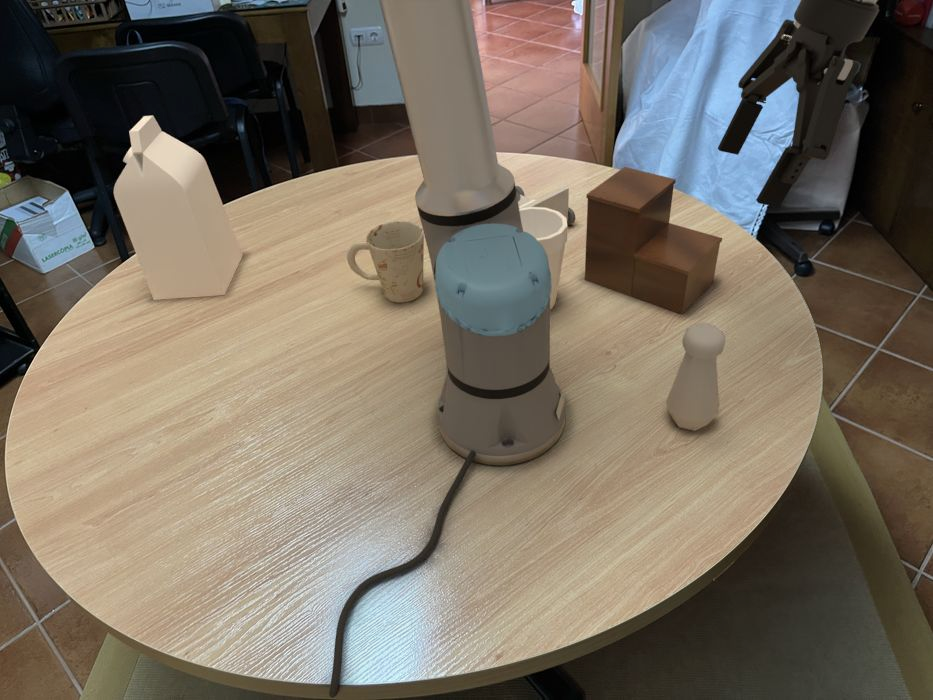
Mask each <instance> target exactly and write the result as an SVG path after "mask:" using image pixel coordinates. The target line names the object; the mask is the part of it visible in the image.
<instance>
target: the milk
mask: <svg viewBox="0 0 933 700" xmlns="http://www.w3.org/2000/svg"><path fill="white" fill-rule="evenodd" d="M128 132H129V134H128V135H129V139H130V145H131V146H130V147H129V149H128V151H126V154H125V155H124V157H123V159H122V162H123V163H125V164H126V165H125V167H124V168H123V169H122V171H121V173H120V174H119V176H118V178H117V180H116V182H115V183H114V187H113V197H114V200H115V203H116V205H117V208H118V210H119V213H120V216H121V218H122V221H123V223H124V226H125V229H126V231H127V233H128V237H129V239H130V242H131V244H132V247H133V249H134V252H135V255H136V257H137V260H138V263H139V266H140V268H141V271H142V273H143V275H144V279H145V281H146V283H147V286H148V290H149V292H150V294H151V296H152V299H153V301H157V300H159V301H160V300H172V299H173V300H174V299H189V298H201V297H217V296H225V295H226V293H227V291H228V289H229V287H230V285H231V282H232V280H233V278H234V276H235V274H236V272H237V269H238V267H239V265H240V263H241V261H242V259H243V257H244V254H243V252H242V250H241V246H240V244H239V242H238V239H237V237H236V234H235V232H234V229H233V226H232V224H231V222H230V219H229V217H228V214H227V211H226V209H225V207H224V203H223V201H222V199H221V197H220V194H219V191H218V189H217V186H216V184H215V181H214V178H213V176H212V174H211V171H210V169H209V166H208V164H207V161H206V159H205V157H204V156H203V155H202V154H201V153H199V151H198V150H196V149H194V147H191V146H189V145H188V144H186V143H184V142H182V141H180V140H179V139H177V138H175V137H174V136H171V135H170V134H168V133H166V132H165V131H162V128H161V127H160V125H159V123H158V121H157V120H156V118H155V116H154V115H143V116H142V118H141V119H140V120H139V121H138V122H137V123H136V124H135V125H134V126H133V127H132V128H131V129H130V130H129V131H128Z"/></svg>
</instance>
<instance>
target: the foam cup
mask: <svg viewBox="0 0 933 700" xmlns="http://www.w3.org/2000/svg"><path fill="white" fill-rule="evenodd" d="M519 211H520V218H521V223H522V228H523V232H527V233H529V234H531V235H532V236H533V237H535V238H536V239H537V240H538V241H539V243H540V244H541V245H542V247H543V248H544V250H545V252H546V254H547V258H548V262H549V268H550V272H551V279H552V281H551V285H552V288H551V294H550V310H552V309H553V307H555V306H556V301H557V296H558V290H559V285H560V277H561V271H562V265H563V259H564V254H565V248H566V244H567V242H568V225H567V219H566V217H565V216H563V215H562V214H561V213H560V212H558V211H555V210H552V209H549V208H543V207H527V208H521V209H519Z"/></svg>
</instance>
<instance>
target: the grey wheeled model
mask: <svg viewBox="0 0 933 700" xmlns="http://www.w3.org/2000/svg"><path fill="white" fill-rule="evenodd" d="M515 187H516V193H517V199H518V205H519V209H521V208H527V207H543V208H549V209H552V210H555V211H558V212H560V213H561V214H562V215H563V216H565V217H566V219H567V226H570V225H573V224H574V223H575V222H576V213H575V212H574V210H573V209H572V208H571V207H569V200H570V199H569V195H570V193H569V192H570V188H569V187H567V186H565V185H564V186H562V187H560V188H557V189H556V190H554V191H552V192H550V193H548V194H546V195H544V196H541V197H540V198H538V199H535V198H533V199H532V198H529V197H528V196H525V192H524V189H523V188H522V187H521V186H519V185H515Z"/></svg>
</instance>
